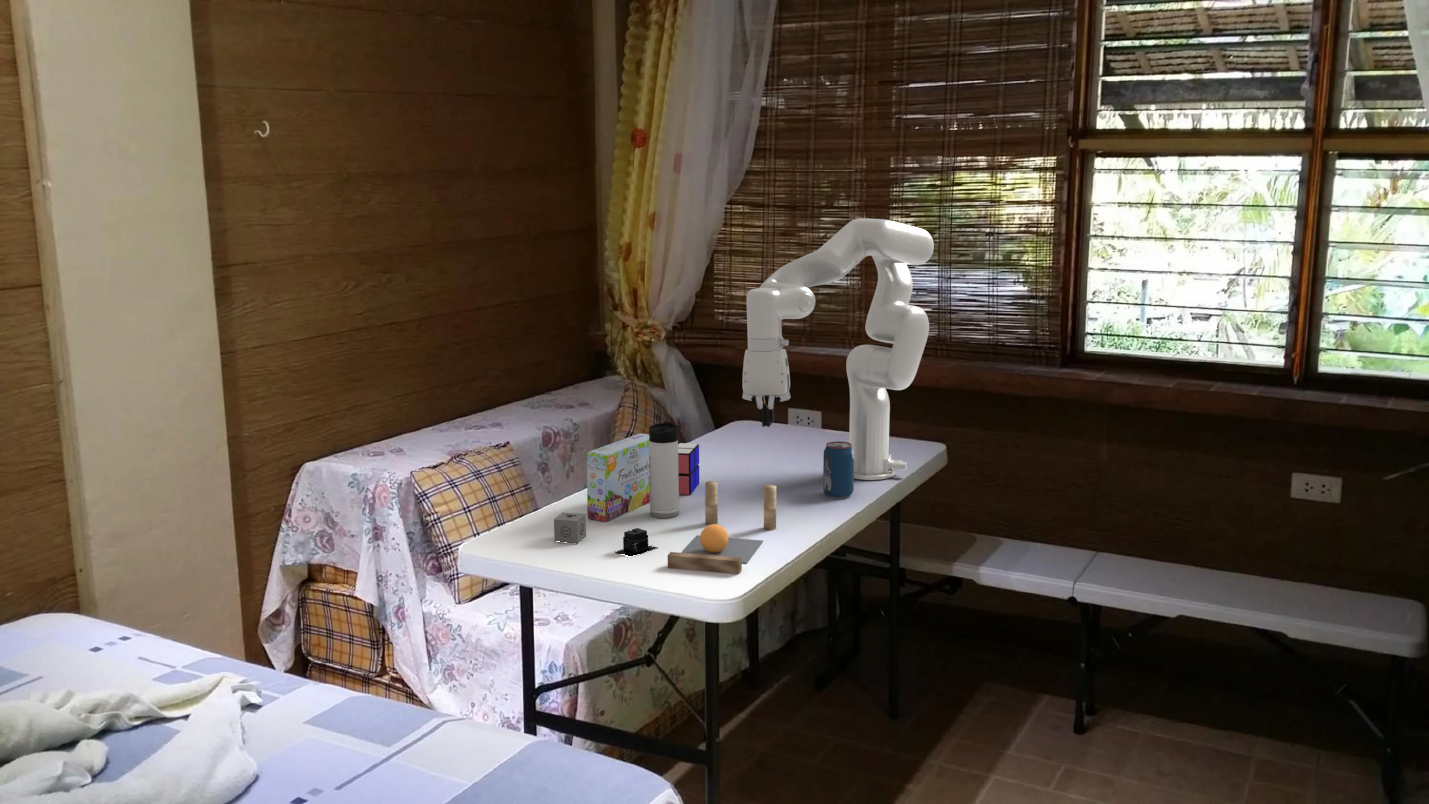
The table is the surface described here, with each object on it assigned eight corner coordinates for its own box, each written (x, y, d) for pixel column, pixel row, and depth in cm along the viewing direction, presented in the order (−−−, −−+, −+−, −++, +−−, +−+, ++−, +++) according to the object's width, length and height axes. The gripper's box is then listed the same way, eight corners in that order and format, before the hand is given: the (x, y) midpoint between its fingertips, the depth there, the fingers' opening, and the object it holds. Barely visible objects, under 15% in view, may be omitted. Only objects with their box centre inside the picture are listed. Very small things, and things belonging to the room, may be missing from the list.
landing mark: (763, 541, 251) (763, 540, 251) (746, 563, 238) (746, 562, 238) (696, 536, 255) (696, 535, 255) (676, 557, 242) (676, 556, 241)
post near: (777, 526, 261) (777, 485, 259) (774, 530, 258) (774, 488, 256) (765, 525, 261) (765, 484, 259) (762, 529, 259) (762, 487, 257)
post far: (719, 522, 264) (718, 481, 262) (715, 525, 262) (715, 484, 260) (707, 521, 265) (707, 480, 263) (704, 524, 262) (703, 483, 260)
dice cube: (586, 537, 255) (585, 513, 254) (577, 544, 250) (577, 520, 249) (563, 535, 256) (562, 512, 255) (554, 542, 251) (553, 519, 250)
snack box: (608, 523, 264) (606, 454, 261) (586, 519, 267) (584, 451, 264) (660, 498, 282) (659, 434, 279) (639, 495, 285) (638, 431, 282)
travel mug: (683, 511, 272) (682, 422, 268) (672, 519, 266) (671, 429, 262) (657, 508, 274) (655, 420, 270) (645, 517, 268) (644, 427, 264)
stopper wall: (741, 570, 234) (741, 557, 234) (739, 573, 232) (739, 561, 232) (670, 564, 238) (670, 551, 237) (667, 567, 236) (667, 555, 235)
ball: (731, 549, 247) (731, 522, 246) (724, 557, 241) (724, 529, 240) (704, 547, 248) (704, 520, 247) (696, 554, 243) (696, 526, 242)
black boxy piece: (645, 542, 253) (645, 520, 252) (671, 549, 248) (671, 527, 248) (600, 557, 244) (600, 535, 243) (626, 565, 239) (626, 542, 238)
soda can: (857, 493, 285) (858, 442, 283) (847, 500, 279) (848, 449, 277) (829, 489, 288) (829, 439, 286) (818, 497, 282) (819, 446, 280)
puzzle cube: (690, 496, 284) (690, 453, 282) (648, 494, 286) (647, 451, 284) (699, 484, 294) (699, 443, 292) (658, 482, 296) (658, 441, 294)
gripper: (801, 341, 275) (803, 422, 279) (735, 341, 278) (738, 420, 283) (795, 348, 268) (796, 430, 272) (727, 347, 271) (730, 428, 275)
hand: (767, 425), depth 277 cm, fingers closed
